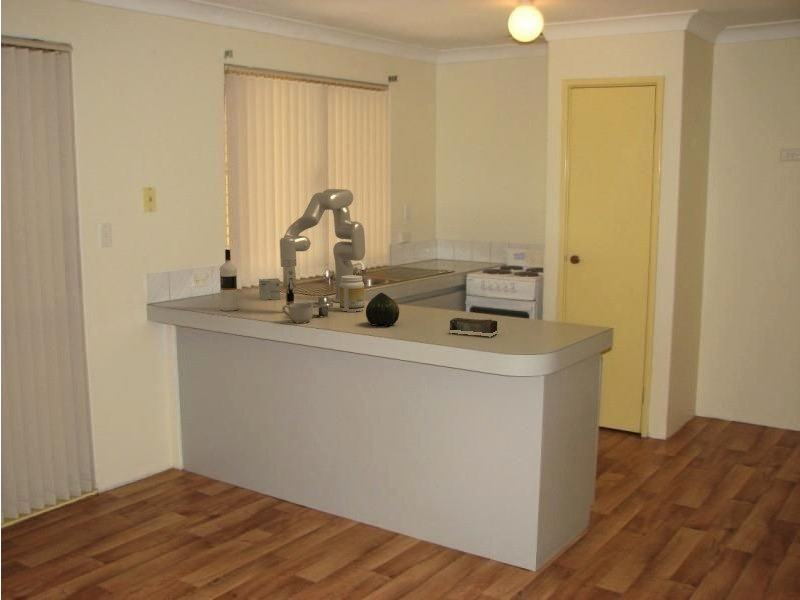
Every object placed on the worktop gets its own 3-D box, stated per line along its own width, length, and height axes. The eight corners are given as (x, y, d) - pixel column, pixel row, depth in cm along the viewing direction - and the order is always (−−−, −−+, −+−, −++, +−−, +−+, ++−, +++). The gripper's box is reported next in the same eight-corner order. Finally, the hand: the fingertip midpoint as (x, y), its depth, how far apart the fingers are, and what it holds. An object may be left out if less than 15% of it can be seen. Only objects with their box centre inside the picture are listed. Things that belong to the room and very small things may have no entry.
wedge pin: (295, 305, 390) (294, 282, 388) (296, 307, 387) (295, 283, 385) (284, 306, 389) (283, 283, 387) (285, 307, 386) (284, 284, 384)
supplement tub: (368, 309, 398) (368, 275, 395) (357, 313, 387) (357, 278, 384) (347, 307, 403) (346, 274, 400) (335, 311, 392) (334, 277, 389)
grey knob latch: (330, 314, 384) (330, 295, 383) (334, 317, 375) (334, 298, 374) (294, 315, 379) (294, 297, 378) (298, 319, 370) (297, 300, 369)
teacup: (316, 320, 367) (316, 303, 366) (306, 325, 357) (306, 307, 356) (289, 318, 371) (289, 302, 370) (278, 323, 361) (278, 305, 360)
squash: (383, 317, 345) (395, 289, 352) (355, 315, 353) (367, 287, 360) (397, 335, 355) (408, 307, 362) (369, 332, 363) (381, 305, 370)
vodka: (237, 311, 391) (235, 250, 386) (218, 311, 390) (216, 250, 386) (240, 308, 400) (238, 248, 395) (221, 308, 399) (219, 248, 395)
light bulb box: (278, 297, 434) (278, 278, 432) (280, 299, 428) (280, 279, 426) (258, 298, 431) (258, 278, 429) (260, 300, 425) (260, 280, 423)
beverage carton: (456, 330, 347) (456, 315, 346) (498, 334, 339) (498, 319, 338) (449, 333, 340) (449, 318, 339) (491, 338, 331) (492, 322, 330)
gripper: (299, 265, 377) (300, 303, 381) (293, 260, 393) (294, 297, 396) (283, 265, 375) (285, 304, 379) (278, 261, 391) (279, 298, 394)
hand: (290, 300), depth 387 cm, fingers closed on wedge pin, 3 cm apart
